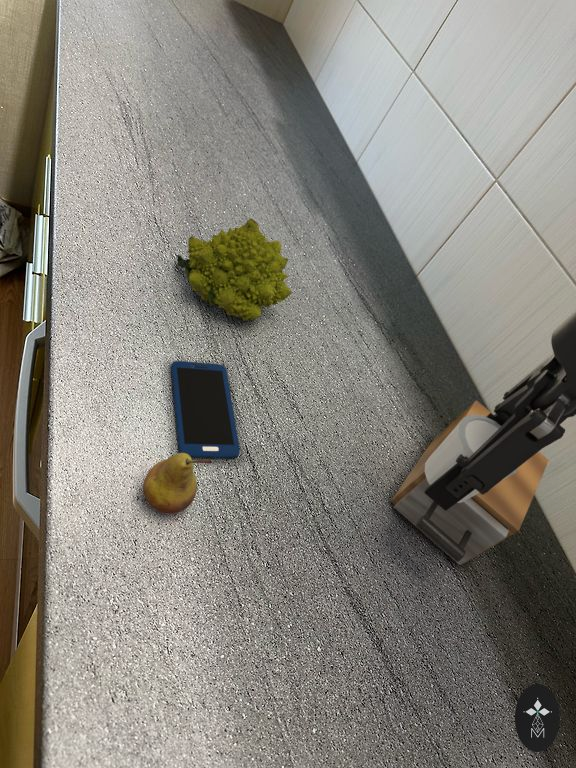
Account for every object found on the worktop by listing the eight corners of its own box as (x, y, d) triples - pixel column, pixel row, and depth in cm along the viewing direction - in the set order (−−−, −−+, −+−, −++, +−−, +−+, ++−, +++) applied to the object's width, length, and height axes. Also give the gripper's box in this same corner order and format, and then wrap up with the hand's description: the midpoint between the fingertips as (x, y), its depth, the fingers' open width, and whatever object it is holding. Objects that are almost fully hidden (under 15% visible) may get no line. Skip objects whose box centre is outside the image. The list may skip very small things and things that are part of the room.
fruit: (186, 473, 65) (215, 416, 57) (192, 520, 62) (224, 468, 53) (136, 474, 63) (159, 415, 54) (140, 523, 60) (164, 469, 51)
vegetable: (149, 240, 80) (233, 182, 74) (215, 275, 94) (291, 227, 88) (174, 332, 75) (266, 278, 70) (240, 355, 89) (321, 311, 83)
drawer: (446, 591, 68) (494, 565, 61) (378, 530, 69) (416, 498, 63) (491, 501, 79) (535, 471, 73) (431, 450, 81) (469, 416, 74)
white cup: (408, 452, 59) (447, 415, 54) (457, 446, 63) (497, 411, 58) (437, 513, 56) (482, 480, 51) (487, 503, 59) (533, 471, 54)
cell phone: (179, 458, 66) (180, 455, 65) (169, 363, 74) (171, 359, 73) (239, 459, 69) (241, 456, 68) (224, 367, 77) (225, 364, 76)
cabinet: (462, 564, 72) (519, 531, 64) (390, 501, 74) (436, 460, 66) (496, 496, 81) (549, 460, 74) (431, 441, 83) (476, 400, 75)
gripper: (607, 255, 50) (453, 403, 66) (555, 363, 36) (379, 514, 53) (680, 309, 49) (506, 446, 65) (654, 441, 35) (443, 569, 52)
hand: (449, 476), depth 59 cm, fingers closed on white cup, 7 cm apart
